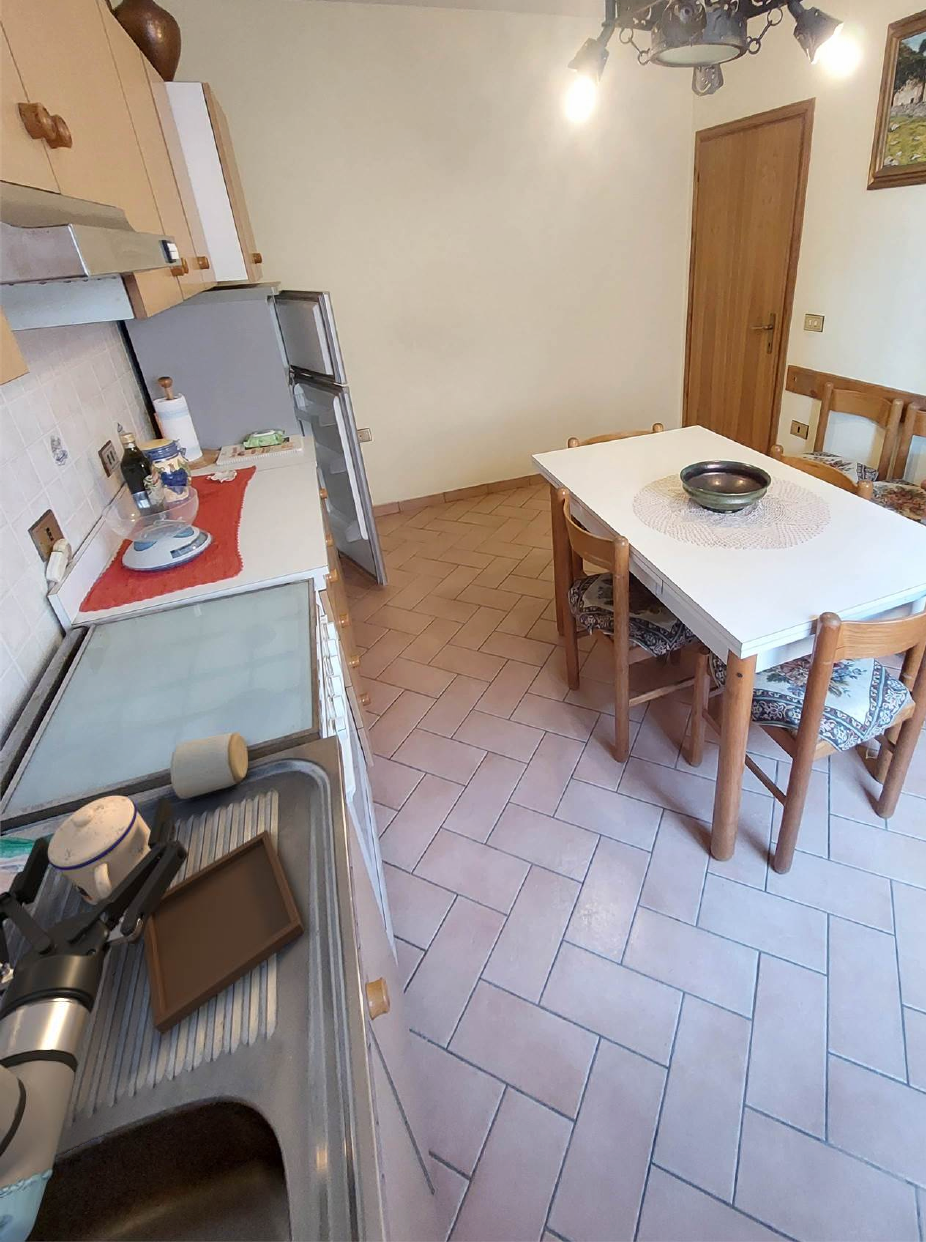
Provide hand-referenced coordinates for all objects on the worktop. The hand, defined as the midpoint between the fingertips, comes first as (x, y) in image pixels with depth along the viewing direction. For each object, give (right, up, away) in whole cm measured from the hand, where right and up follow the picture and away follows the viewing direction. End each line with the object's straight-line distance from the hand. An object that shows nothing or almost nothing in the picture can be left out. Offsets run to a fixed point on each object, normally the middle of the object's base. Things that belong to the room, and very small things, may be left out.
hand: (107, 823), depth 73 cm
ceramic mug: (+7, 0, +14) cm, 15 cm away
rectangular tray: (+17, -9, -5) cm, 20 cm away
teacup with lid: (+2, -8, +1) cm, 8 cm away
